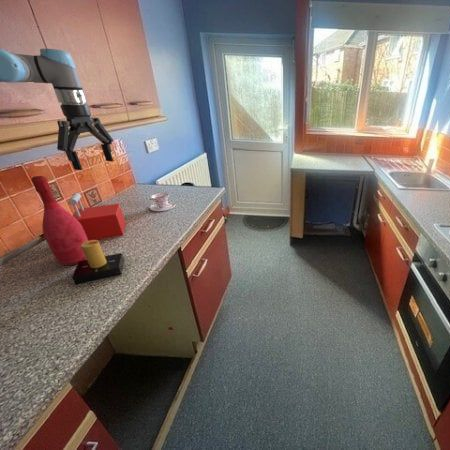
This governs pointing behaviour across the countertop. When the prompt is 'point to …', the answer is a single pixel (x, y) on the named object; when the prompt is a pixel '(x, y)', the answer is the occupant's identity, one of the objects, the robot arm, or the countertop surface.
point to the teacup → (161, 202)
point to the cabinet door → (92, 210)
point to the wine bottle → (60, 227)
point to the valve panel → (98, 269)
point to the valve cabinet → (104, 226)
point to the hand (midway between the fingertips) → (95, 165)
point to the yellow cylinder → (93, 253)
